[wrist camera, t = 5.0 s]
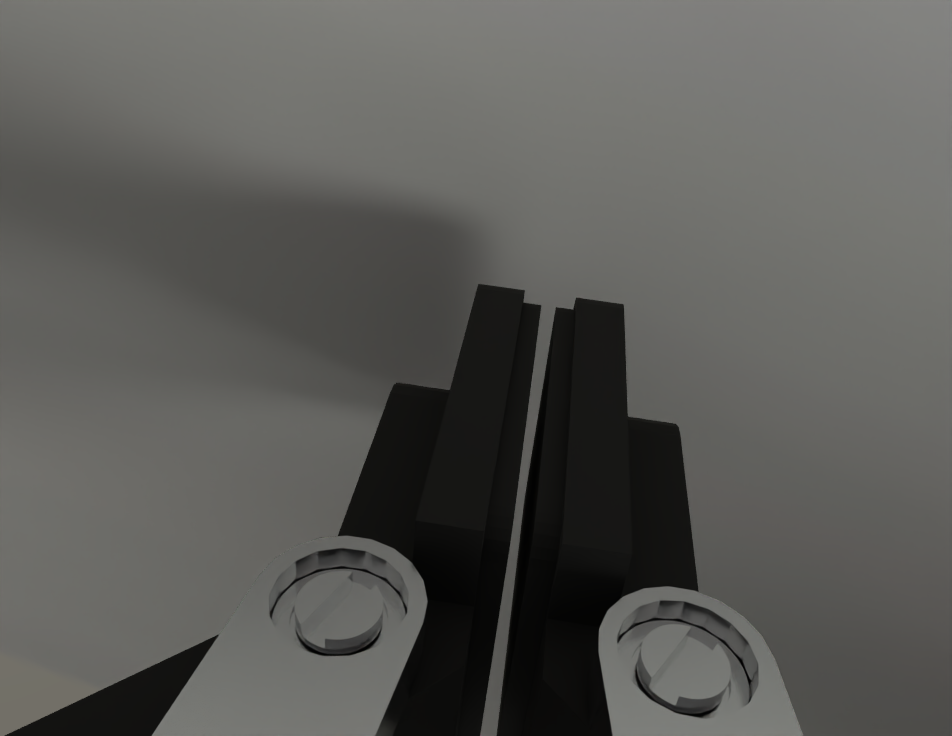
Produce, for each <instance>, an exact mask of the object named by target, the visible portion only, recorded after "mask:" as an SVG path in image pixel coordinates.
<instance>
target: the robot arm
mask: <svg viewBox="0 0 952 736" xmlns="http://www.w3.org/2000/svg"><path fill="white" fill-rule="evenodd" d="M524 293H525V290H518V289H511V288H504V287H497V286H490V285H482V284H478V287H477V291H476V295H475V298H474V302H473V306H472V310H471V313H470V317H469V321H468V325H467V328H466V332H465V336H464V340H463V343H462V347H461V351H460V355H459V358H458V362H457V366H456V370H455V374H454V377H453V381H452V385H451V389H450V390H444V389H437V388H430V387H423V386H417V385H410V384H403V383H396V384H394V386H393V388H392V390H391V392H390V395H389V398H388V401H387V403H386V406H385V409H384V411H383V414H382V417H381V420H380V422H379V425H378V428H377V431H376V433H375V436H374V439H373V442H372V444H371V447H370V450H369V452H368V455H367V458H366V461H365V463H364V466H363V469H362V472H361V474H360V477H359V480H358V482H357V485H356V488H355V491H354V493H353V496H352V499H351V502H350V504H349V507H348V510H347V513H346V515H345V518H344V521H343V523H342V526H341V529H340V532H339V534H338V536H335V537H321V538H318V539H315V540H311V541H308V542H305V543H302V544H298V545H296V546H294V547H292V548H291V549H289V550H287V551H286V552H284V553H283V554H281V555H279V556H278V557H276V558H275V559H274V560H273V561H272V562H271V563H270V564H269V565H268V566H267V567H266V568H265V569H264V570H263V571H262V573H261V574H260V575H259V576H258V577H257V579H256V580H255V582H254V583H253V585H252V586H251V588H250V589H249V591H248V592H247V594H246V595H245V597H244V598H243V600H242V601H241V603H240V604H239V606H238V607H237V609H236V610H235V612H234V613H233V615H232V616H231V618H230V619H229V621H228V622H227V624H226V625H225V627H224V628H223V630H222V631H221V633H220V634H219V635H217V636H215V637H213V638H210V639H208V640H206V641H204V642H202V643H200V644H198V645H196V646H193V647H191V648H189V649H187V650H185V651H183V652H181V653H179V654H177V655H174V656H172V657H170V658H168V659H166V660H164V661H162V662H160V663H158V664H155V665H153V666H151V667H149V668H147V669H145V670H143V671H141V672H138V673H136V674H134V675H132V676H130V677H128V678H126V679H124V680H122V681H119V682H117V683H115V684H113V685H111V686H109V687H107V688H105V689H103V690H100V691H98V692H96V693H94V694H92V695H90V696H88V697H86V698H84V699H81V700H79V701H77V702H75V703H73V704H71V705H69V706H67V707H64V708H62V709H60V710H58V711H56V712H54V713H52V714H50V715H48V716H45V717H43V718H41V719H39V720H37V721H35V722H33V723H31V724H29V725H27V726H24V727H22V728H20V729H18V730H16V731H14V732H12V733H9V734H7V735H5V736H480V732H481V726H482V720H483V713H484V707H485V701H486V694H487V688H488V681H489V675H490V669H491V662H492V656H493V650H494V643H495V637H496V630H497V624H498V618H499V611H500V605H501V599H502V592H503V586H504V580H505V573H506V567H507V560H508V554H509V547H510V540H511V533H512V526H513V519H514V512H515V504H516V496H517V489H518V481H519V473H520V465H521V458H522V450H523V442H524V435H525V427H526V419H527V412H528V404H529V396H530V388H531V381H532V373H533V365H534V358H535V350H536V342H537V335H538V327H539V319H540V311H541V305H536V304H529V303H523V301H524ZM497 736H803V733H802V731H801V728H800V725H799V723H798V720H797V717H796V715H795V712H794V709H793V706H792V704H791V701H790V698H789V696H788V693H787V690H786V688H785V685H784V682H783V679H782V677H781V674H780V671H779V669H778V666H777V663H776V660H775V658H774V656H773V654H772V653H771V651H770V649H769V647H768V645H767V644H766V642H765V640H764V638H763V636H762V635H761V634H760V633H759V632H758V631H757V630H756V629H755V628H754V627H753V626H752V625H751V624H750V623H749V622H748V620H747V619H746V618H745V617H744V616H742V615H741V614H739V613H738V612H736V611H735V610H733V609H732V608H730V607H729V606H727V605H726V604H724V603H723V602H721V601H719V600H717V599H714V598H712V597H709V596H707V595H704V594H702V593H699V592H698V583H697V575H696V566H695V558H694V549H693V540H692V532H691V523H690V515H689V506H688V497H687V489H686V480H685V471H684V463H683V454H682V446H681V437H680V432H679V427H678V426H677V425H676V424H673V423H667V422H660V421H653V420H646V419H640V418H633V417H628V413H627V384H626V355H625V325H624V305H623V304H617V303H610V302H603V301H596V300H589V299H582V298H576V300H575V304H574V309H573V310H571V309H564V308H557V307H556V310H555V316H554V322H553V328H552V334H551V340H550V346H549V352H548V359H547V365H546V371H545V377H544V383H543V389H542V395H541V401H540V408H539V414H538V420H537V426H536V432H535V438H534V444H533V450H532V457H531V463H530V469H529V475H528V481H527V487H526V494H525V501H524V509H523V517H522V525H521V534H520V542H519V551H518V559H517V568H516V576H515V585H514V593H513V602H512V610H511V619H510V627H509V636H508V644H507V653H506V661H505V669H504V678H503V686H502V695H501V703H500V712H499V720H498V729H497Z"/></svg>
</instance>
